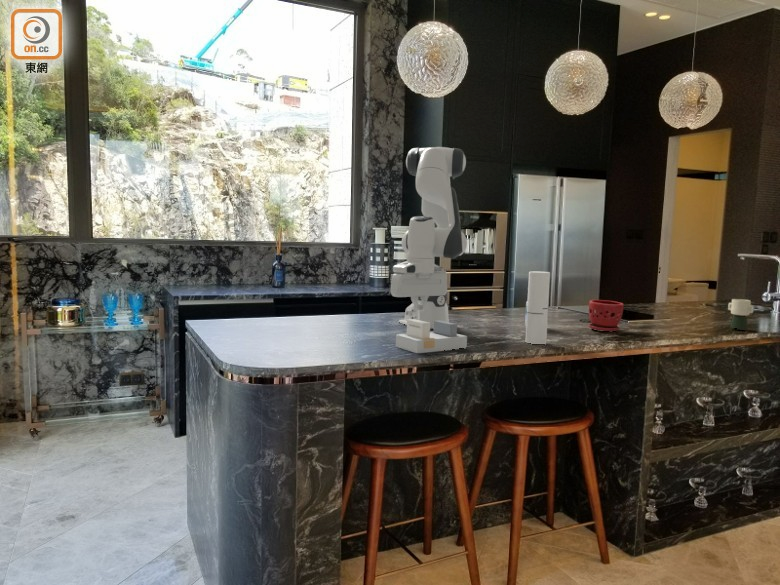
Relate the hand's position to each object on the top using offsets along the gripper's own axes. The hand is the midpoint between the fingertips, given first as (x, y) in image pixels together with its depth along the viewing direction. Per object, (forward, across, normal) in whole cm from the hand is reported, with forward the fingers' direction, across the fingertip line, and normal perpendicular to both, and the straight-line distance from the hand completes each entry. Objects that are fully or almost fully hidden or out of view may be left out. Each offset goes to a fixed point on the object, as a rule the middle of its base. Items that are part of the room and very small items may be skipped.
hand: (418, 310), depth 192 cm
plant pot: (+12, -93, +1) cm, 93 cm away
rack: (+13, -6, 0) cm, 14 cm away
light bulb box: (+12, -69, -14) cm, 71 cm away
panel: (+12, 0, 0) cm, 12 cm away
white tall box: (+13, -45, +9) cm, 47 cm away
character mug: (+12, -152, +24) cm, 154 cm away
